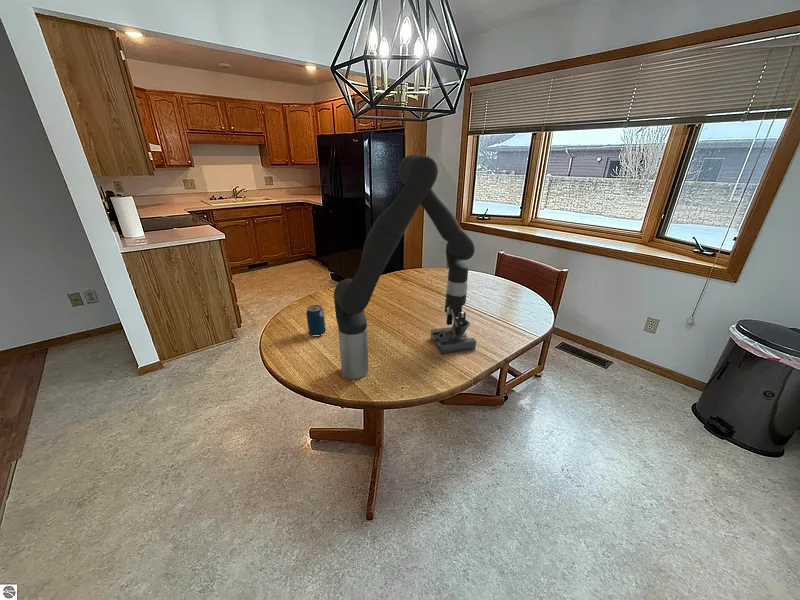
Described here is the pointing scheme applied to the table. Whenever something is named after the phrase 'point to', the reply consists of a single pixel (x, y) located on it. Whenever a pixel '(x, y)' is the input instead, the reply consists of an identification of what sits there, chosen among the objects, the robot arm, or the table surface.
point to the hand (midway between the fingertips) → (453, 329)
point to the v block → (452, 342)
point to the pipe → (453, 332)
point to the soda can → (315, 320)
